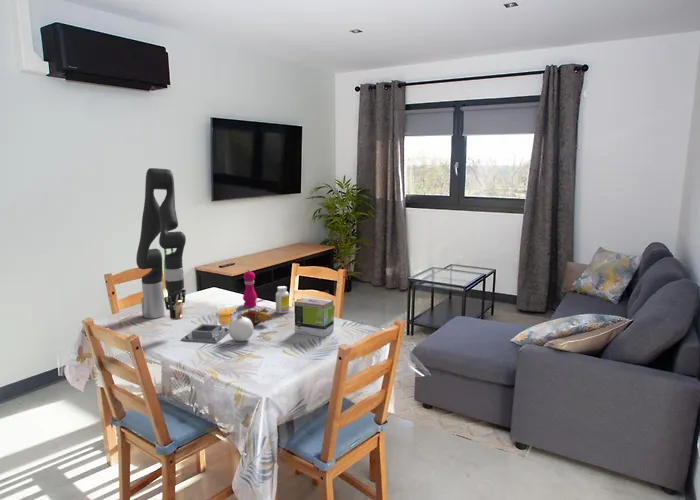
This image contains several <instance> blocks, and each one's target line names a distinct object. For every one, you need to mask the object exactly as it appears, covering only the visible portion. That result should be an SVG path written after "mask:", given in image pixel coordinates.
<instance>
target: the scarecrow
mask: <svg viewBox="0 0 700 500" xmlns="http://www.w3.org/2000/svg"><path fill="white" fill-rule="evenodd" d="M268 312H269V311H268V309H267V308H266V307H265V308H262V307H261V309H260V308H258V311H257V310H255V309H247V311H246V310H244V312H243V313H239V314H241V316H242V317H246V318H248V319H250V320H251V322H252V324H253V325H254V324H258V323H263V324H264V323H266V322H269V321H271V319H272V318H273V315H270V314H269V313H268ZM239 317H240V316H239Z"/></svg>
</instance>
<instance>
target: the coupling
mask: <svg viewBox="0 0 700 500" xmlns="http://www.w3.org/2000/svg"><path fill="white" fill-rule="evenodd" d="M228 334H229V327H222V325H220V324H205V323H202V324H200V325H199V326H196V328H194V329H193V330H192V331H190V332H189V333H187V334H186V335H185V336H183V337H181V339H180V340H181V342H195V343H207V344H208V343H209V344H217V343H218V342H220V341H221V340H223V339H224V338H225V337H226V336H227V335H228Z"/></svg>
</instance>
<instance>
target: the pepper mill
mask: <svg viewBox="0 0 700 500" xmlns="http://www.w3.org/2000/svg"><path fill="white" fill-rule="evenodd" d="M246 270H247V271H246V272H244V274H243V279H244V284H245V290H244V293H243V295H242V299H243V301H244V303H243V305H244V306H243V307H245V306H248V307H247V308H254V306H255V307H256V306H257V299H258V295H257V292H256V291H255V288H254V287H255V285H254V284H255V279H256V274H255V273H254V271H252V270H251V269H250V268H248V269H246Z"/></svg>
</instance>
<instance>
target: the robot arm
mask: <svg viewBox="0 0 700 500" xmlns="http://www.w3.org/2000/svg"><path fill="white" fill-rule="evenodd" d="M144 186H145V188H144V190H145V191H144V203H143V211H142V218H141V228H140V237H139V241H138V242H139V243H138V248H137V251H136V257H135V259H136V265H137V267H138V269H139V270H148V269H151V270H150V271H149V272H148V273H145V274H144V275H142V277H141V287H142V288H141V289H142V297H141V300H140V301H141V312H142V313H141V314H142V315H141V316H142V318H145V319H158V318H159V319H160V318H162V317H164V316H165V309H166V310H169V318H176V313H175V306H176V305H177V301H178V300H179V299H180V300H181V299H182V301H183V302H182V306H183V305H184V304H185V303H186V291H187V290H186V289H184V288H185V280H184V279H185V278H184V277H185V276H184V269H183V267H184V266H183V256H184V255H183V253H184V249H185V245H186V241H187V240H186V235H185V233H184V232H183V231H173V230H175V229H177V228H178V227H179V222H178V216H177V211H176V200H175V199H176V197H175V195H176V194H175V179H174V173H173V172H172V170H171V169H167V168H156V167H155V168H153V167H151V168H148V169H147V171H146V173H145V184H144ZM155 190H162V191H163V190H166V194H165V197H164V199H163V201H162V202H161V204H159V203H158V201H157V199H156V197H155V194H154V193H155ZM158 236H159V238H158V240H159V241H158V244H159V246H160V247H161V248H162V249H163V250H170V249H171V250H173V249H175V250H174V251H173V252H171V253H168V254H166V255H164V285H165V290H166V291H168V294H167V296H164V289H163V288H164V287H163V255H162V252H161V250H160V249H158V248H151V249H150V246H151V245H152V243H153V242H154V240H155V239H156V238H157V237H158ZM172 302H174V303H172ZM172 304H173V306H172Z"/></svg>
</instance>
